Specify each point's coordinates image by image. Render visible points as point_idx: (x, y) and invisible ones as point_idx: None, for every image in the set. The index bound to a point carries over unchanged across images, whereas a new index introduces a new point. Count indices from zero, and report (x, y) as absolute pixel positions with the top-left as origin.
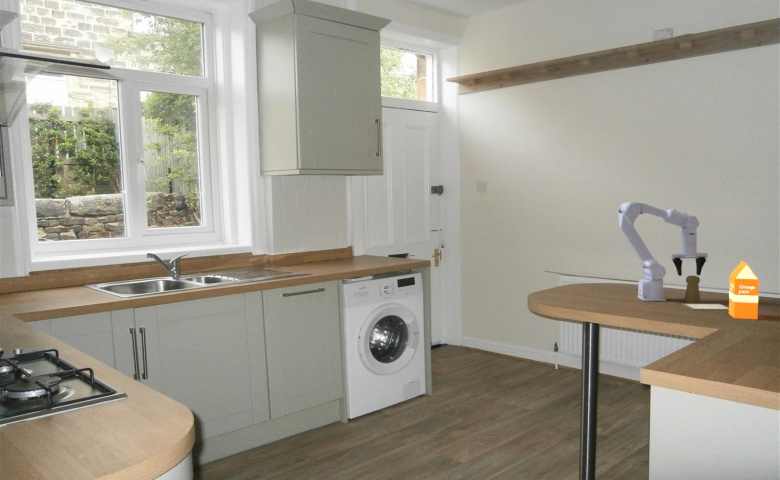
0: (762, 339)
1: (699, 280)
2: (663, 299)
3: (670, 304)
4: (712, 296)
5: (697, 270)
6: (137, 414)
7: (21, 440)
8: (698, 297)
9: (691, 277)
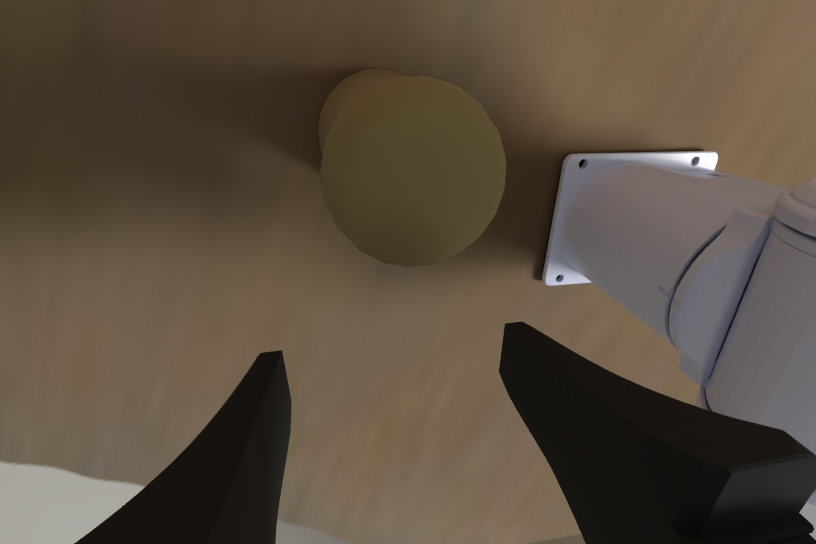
0: None
1: (340, 112)
2: (580, 171)
3: (602, 6)
4: (159, 366)
5: (279, 434)
6: None
7: None
8: (348, 86)
9: (475, 114)
